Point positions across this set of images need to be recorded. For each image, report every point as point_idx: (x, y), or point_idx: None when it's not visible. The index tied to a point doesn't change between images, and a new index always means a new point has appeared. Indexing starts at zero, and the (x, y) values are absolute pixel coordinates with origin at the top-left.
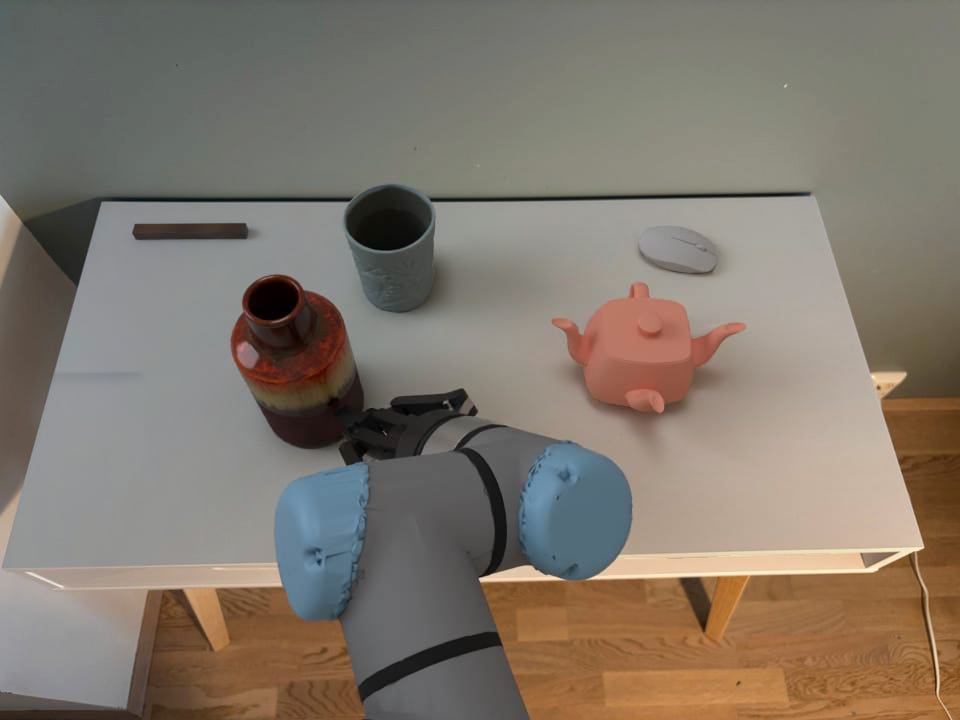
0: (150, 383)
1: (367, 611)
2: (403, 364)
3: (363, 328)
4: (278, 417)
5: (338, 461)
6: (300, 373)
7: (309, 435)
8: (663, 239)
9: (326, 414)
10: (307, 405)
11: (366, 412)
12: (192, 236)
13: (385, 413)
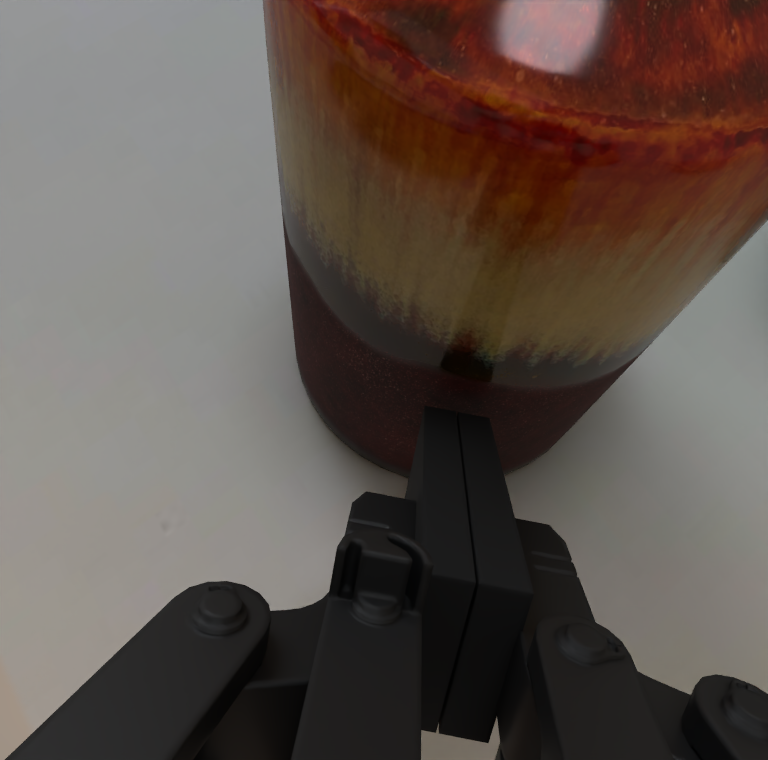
0: (252, 30)
1: None
2: (720, 478)
3: (708, 312)
4: (286, 245)
5: (333, 514)
6: (446, 34)
7: (327, 385)
8: None
9: (406, 381)
10: (365, 277)
11: (524, 557)
12: None
13: (629, 757)
